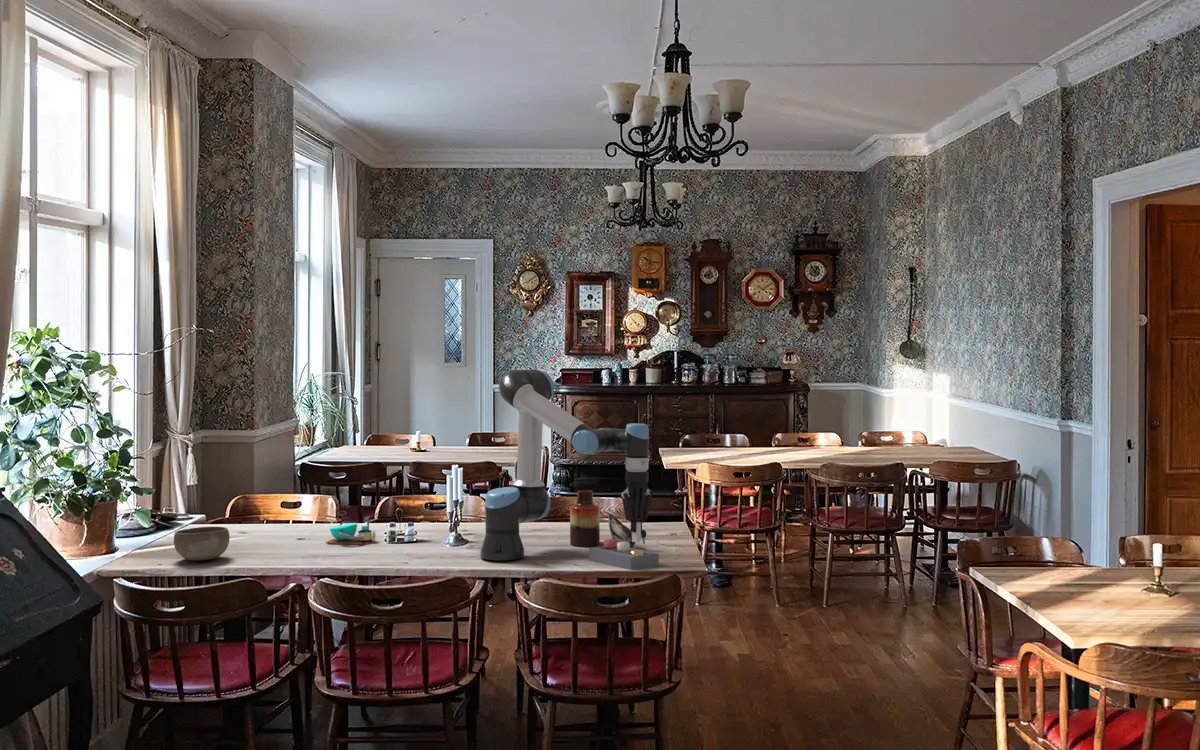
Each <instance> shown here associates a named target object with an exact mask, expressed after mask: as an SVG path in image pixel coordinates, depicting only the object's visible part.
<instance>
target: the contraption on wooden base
mask: <svg viewBox="0 0 1200 750" xmlns="http://www.w3.org/2000/svg"><path fill="white" fill-rule="evenodd" d="M346 515H347V511H345V510H341V511H338V512H337V517H336V519H335V520H334V522H336V523H337V522H338V520H339V519H338V518H339V517H341V522H339V523H338V524H339V525H337V526H336V525H335V526H333V527H330V528H329V530H330V533H331V535H332V537H333V538H332V539H329V540H327V541H325V544H326V545H327V546H328V545H331V546H332V545H335V546H337V545H338V546H367V545H371V544H372V543H373V542H376V537H377V535H376V531H372V530H371V529H370V518H369V517H366V518H364V520H363V521H364V523H366V524H365V525H361V529H360V530H358V531H357V529H358V523H356V522H353V523H351V522H350V523H346V524H343V522H342V521H343V519H344V516H346ZM356 533H358V534H357V536H356Z"/></svg>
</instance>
